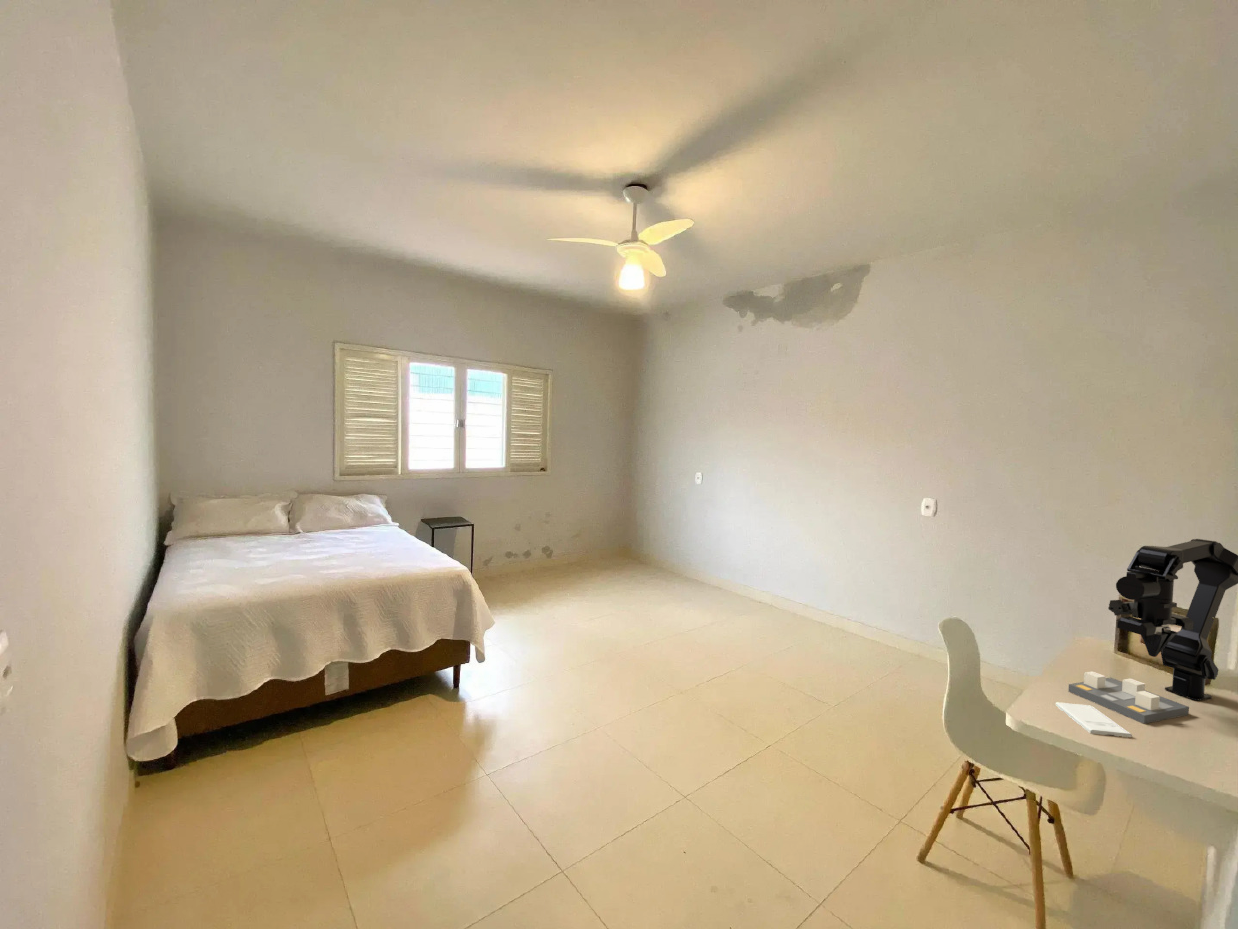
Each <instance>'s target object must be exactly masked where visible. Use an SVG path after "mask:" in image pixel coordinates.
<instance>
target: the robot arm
mask: <svg viewBox="0 0 1238 929" xmlns="http://www.w3.org/2000/svg"><path fill="white" fill-rule="evenodd" d="M1190 562H1191V563H1192V564H1193V565H1194V568H1193V571H1194V574H1195V576H1196V578H1197V581H1198V583H1197V586H1196V589H1195V591H1194V594H1193V597H1192V599H1191V602H1190V604H1189V607H1188V609H1187V612H1186V615H1185V616H1184V615H1180V614H1175V613H1173V608H1178V607H1177V606H1178V602H1175V601H1173V599H1174V586H1175V585H1174V584H1175V583H1174V582H1175V580H1178V579H1179V576H1178V575H1177V573H1178V572H1179V571H1180V570H1182V569H1184V564H1186V563H1190ZM1126 571H1127V572H1126V576H1122V577H1120V578H1119V579H1118V580H1117V581H1116V583H1115V588H1116V590H1117V592H1118V594H1119V595H1121V597H1123V598H1124V599H1128V600H1131V601H1124V602H1123V600H1121V599H1112V600H1109V603H1108V610H1109V611H1110V612H1111V613H1113V614H1114V616H1116V617H1118V616H1120V615H1121V616H1123V617H1120V618H1117V619H1116V625H1115V627H1116V628H1117V629H1120V630H1123V631H1126V632H1130V633H1134V634H1138V635H1139V636H1141V638H1142V640H1143V643H1144V645H1145V648H1146V651H1147V654H1148V656H1150V657H1155V658H1157V657H1158V655H1159V654H1160V655H1161V656H1160V657H1161V660H1162V661H1161V662H1162V666H1164V667H1168V668H1171V669H1172V685H1171V686H1165V687H1164V690H1165V691H1168V692H1171V693H1174V694H1176V695H1179V696H1182V697H1185V698H1188V699H1190V700H1193V701H1197V702H1198V701H1203V700H1208V699H1212V698H1213V696H1212V695H1210V694H1207V693H1205V691H1206V690H1205V688H1206V680H1216V678H1217V677H1218V675H1219V668H1218V667H1217V665H1216V664H1215V662H1214V661H1213V659H1212V654H1213V652H1212V649H1211V647H1210V645H1209V642H1208V637H1209V635H1210V631H1211V630H1212V627H1213V625H1214V622H1215V619H1216V616H1217V614H1218V611H1219V610H1220V609H1219V608H1220V606H1221V603H1222V600H1223V598H1224V595H1225V592H1226V591H1227V590H1229V589H1231V588H1232V587H1234V586H1236V585H1238V554H1236V553H1235V552H1233V551H1231V550H1229V549H1228V548H1226V547H1225V546H1224V545H1223V544H1222V543H1221V542H1218V541H1215V540H1207V539H1201V538H1194V539H1193V538H1192V539H1191V540H1189V541H1184V542H1181V543H1178V544H1174V545H1173V544H1172V545H1168V546H1159V545H1143V546H1141V547H1139V548H1138V550H1137V551H1136V552H1135V553H1134V556H1133V558H1132V559H1131V562H1130V563H1129V564H1128V567H1127V568H1126ZM1132 600H1133V601H1132ZM1124 615H1125V616H1124ZM1127 615H1128V616H1127ZM1129 615H1131V616H1129ZM1212 617H1214V618H1215V619H1213V618H1212ZM1170 626H1178V627H1181V628H1180V630H1178V631H1175V630H1172V628H1171V627H1170Z"/></svg>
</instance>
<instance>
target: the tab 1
mask: <svg viewBox="0 0 1238 929" xmlns="http://www.w3.org/2000/svg"><path fill="white" fill-rule="evenodd" d="M1083 674H1084V675H1083V682H1084V684H1086V685H1089V686H1091V687H1094V688H1096V689H1099V688H1105V679H1106V678H1107V676H1106V675H1103V674H1101V673H1098V672H1095V671H1092V670H1091V671H1087V672H1086V671H1085V672H1084V673H1083Z"/></svg>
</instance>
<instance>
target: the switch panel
mask: <svg viewBox="0 0 1238 929" xmlns="http://www.w3.org/2000/svg"><path fill="white" fill-rule="evenodd" d="M1122 682H1123V680H1122V681H1121V680H1119V679H1116V678H1113V677H1111V676H1110V677H1106V679H1105V688H1099V689H1096V688H1094V687H1091V686H1089V685H1086V684H1084V681H1081V682H1074V683H1070V684H1069V683H1068V692H1069V693H1071V694H1073V693H1074V695H1075V696H1078V695H1079V697H1080V696H1081V697H1080V698H1083V699H1085V700H1087V699H1088V700H1087V701H1090V702H1092V703H1094V702H1095V703H1094V704H1097V705H1099V706H1101V705H1102V707H1104V708H1106V707H1107V709H1108V708H1109V709H1108V710H1111V711H1113V712H1115V711H1116V712H1115V713H1117V714H1119V715H1123V716H1125V717H1128V718H1130V719H1132V720H1134V721H1137V722H1139V723H1141V724H1149V723H1155V722H1158V721H1165V720H1170V719H1174V718H1175V719H1176V718H1180V717H1184V716H1189V713H1190V706H1188V705H1185V704H1183V703H1180V702H1177V701H1175V700H1172V699H1169V698H1167V697H1164V696H1161V695H1159V694H1156V693H1153V692H1151V691H1147V690H1146V689H1145V691H1146V692H1149V693H1151V694H1154V695H1157V696H1159V697H1160V700H1159V709H1155V710H1148V709H1146V708H1143V707H1141V706H1139V705H1136V704H1135V697H1136V696H1133V695H1131V694H1128V693H1126V692H1123V691H1122Z"/></svg>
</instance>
